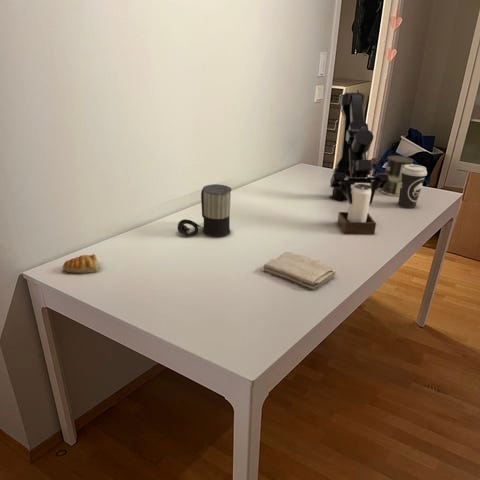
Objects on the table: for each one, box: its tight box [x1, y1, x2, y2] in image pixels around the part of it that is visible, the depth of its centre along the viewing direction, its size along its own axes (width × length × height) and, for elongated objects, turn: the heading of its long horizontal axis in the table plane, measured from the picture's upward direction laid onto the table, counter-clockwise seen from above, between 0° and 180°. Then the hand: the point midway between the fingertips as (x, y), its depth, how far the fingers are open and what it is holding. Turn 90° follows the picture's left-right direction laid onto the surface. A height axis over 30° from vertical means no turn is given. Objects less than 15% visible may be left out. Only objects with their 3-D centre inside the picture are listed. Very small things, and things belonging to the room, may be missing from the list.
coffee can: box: [380, 155, 414, 197], centre depth 198 cm, size 10×10×14 cm
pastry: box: [62, 253, 99, 274], centre depth 131 cm, size 9×7×4 cm
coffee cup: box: [398, 164, 428, 209], centre depth 184 cm, size 10×10×15 cm
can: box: [347, 183, 371, 222], centre depth 160 cm, size 6×6×12 cm
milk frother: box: [177, 183, 232, 238], centre depth 153 cm, size 14×16×15 cm
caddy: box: [337, 211, 377, 235], centre depth 164 cm, size 10×10×4 cm
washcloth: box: [262, 251, 336, 291], centre depth 133 cm, size 12×18×3 cm, turn 51°
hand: (360, 203), depth 159 cm, fingers closed on can, 6 cm apart
